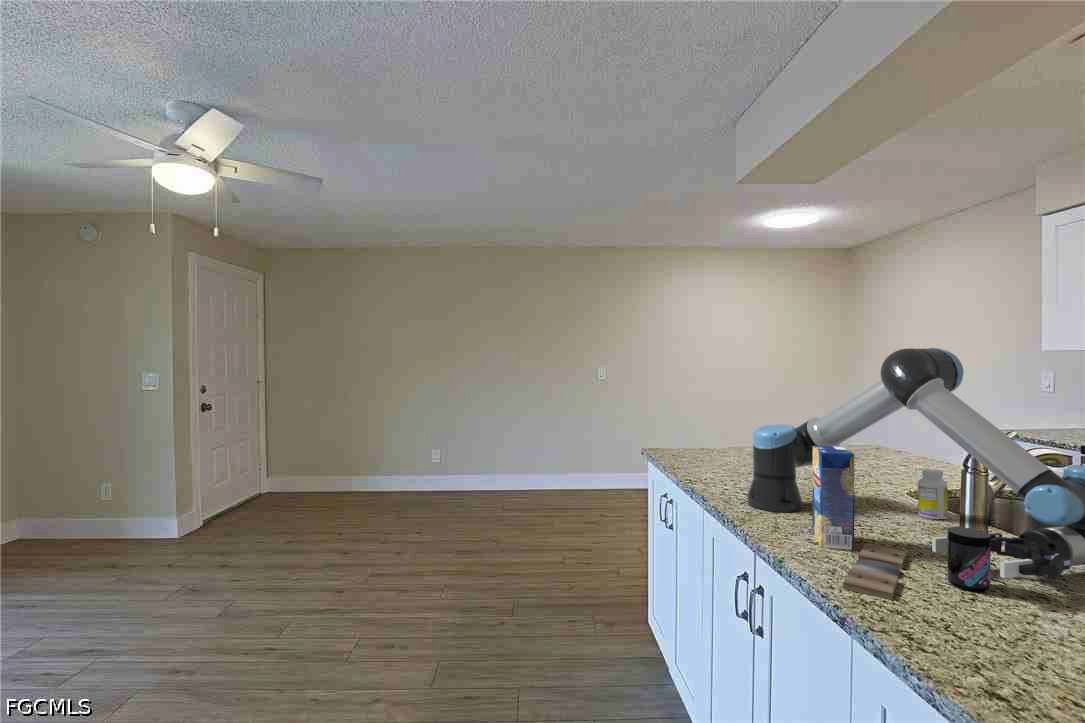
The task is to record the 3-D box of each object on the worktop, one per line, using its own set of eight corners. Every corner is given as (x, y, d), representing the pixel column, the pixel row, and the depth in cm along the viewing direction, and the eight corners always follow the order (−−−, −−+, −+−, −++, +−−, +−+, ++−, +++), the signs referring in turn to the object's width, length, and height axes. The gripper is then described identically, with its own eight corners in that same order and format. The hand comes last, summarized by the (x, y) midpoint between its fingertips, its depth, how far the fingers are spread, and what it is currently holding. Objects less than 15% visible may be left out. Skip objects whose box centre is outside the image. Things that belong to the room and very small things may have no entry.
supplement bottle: (938, 514, 156) (938, 468, 156) (953, 521, 150) (953, 473, 150) (912, 513, 157) (913, 467, 157) (926, 520, 151) (926, 472, 150)
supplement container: (948, 588, 107) (949, 534, 107) (944, 576, 113) (945, 525, 113) (993, 596, 104) (994, 540, 103) (987, 583, 109) (987, 530, 109)
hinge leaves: (892, 599, 102) (892, 592, 102) (843, 588, 107) (843, 581, 107) (906, 555, 124) (906, 549, 124) (865, 548, 129) (865, 542, 129)
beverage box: (842, 535, 139) (842, 446, 138) (854, 550, 128) (854, 454, 128) (812, 533, 140) (812, 445, 140) (821, 547, 130) (821, 452, 130)
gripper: (1128, 592, 100) (1036, 604, 95) (989, 545, 124) (909, 553, 120) (1128, 550, 100) (1036, 560, 95) (989, 512, 124) (910, 518, 120)
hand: (965, 556), depth 108 cm, fingers open, 13 cm apart
